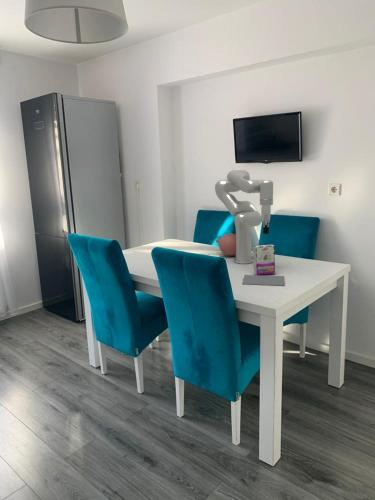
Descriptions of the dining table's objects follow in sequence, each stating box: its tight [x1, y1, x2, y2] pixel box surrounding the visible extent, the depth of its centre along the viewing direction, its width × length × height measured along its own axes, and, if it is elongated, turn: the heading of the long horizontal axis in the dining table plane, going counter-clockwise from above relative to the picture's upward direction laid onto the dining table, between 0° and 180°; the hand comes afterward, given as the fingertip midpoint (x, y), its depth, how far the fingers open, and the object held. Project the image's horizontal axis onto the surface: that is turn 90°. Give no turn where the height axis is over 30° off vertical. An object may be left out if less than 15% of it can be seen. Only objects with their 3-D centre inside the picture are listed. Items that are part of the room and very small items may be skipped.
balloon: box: [215, 233, 236, 257], centre depth 276 cm, size 15×20×15 cm
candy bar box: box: [252, 244, 276, 276], centre depth 230 cm, size 11×5×16 cm, turn 101°
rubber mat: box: [241, 274, 286, 287], centre depth 219 cm, size 17×22×1 cm
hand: (265, 233), depth 236 cm, fingers closed
